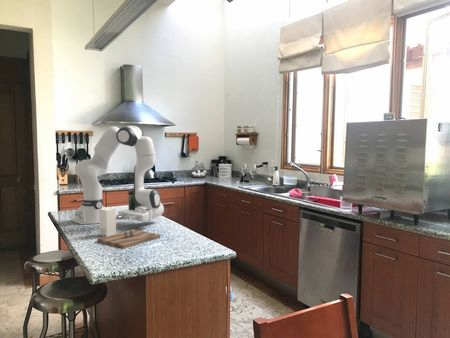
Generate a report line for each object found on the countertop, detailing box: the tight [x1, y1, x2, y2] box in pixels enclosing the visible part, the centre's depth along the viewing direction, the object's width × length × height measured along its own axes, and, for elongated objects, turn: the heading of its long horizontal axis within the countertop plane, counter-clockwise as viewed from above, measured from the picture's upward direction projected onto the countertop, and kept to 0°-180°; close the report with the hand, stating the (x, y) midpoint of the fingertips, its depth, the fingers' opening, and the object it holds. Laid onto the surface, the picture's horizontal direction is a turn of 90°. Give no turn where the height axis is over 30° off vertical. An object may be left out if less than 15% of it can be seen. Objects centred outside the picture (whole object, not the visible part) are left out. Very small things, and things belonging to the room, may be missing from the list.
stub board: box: [96, 228, 161, 249], centre depth 189 cm, size 20×24×4 cm
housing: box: [98, 207, 117, 237], centre depth 198 cm, size 6×6×14 cm
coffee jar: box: [127, 188, 142, 210], centre depth 243 cm, size 10×8×19 cm
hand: (122, 217), depth 206 cm, fingers open, 8 cm apart
